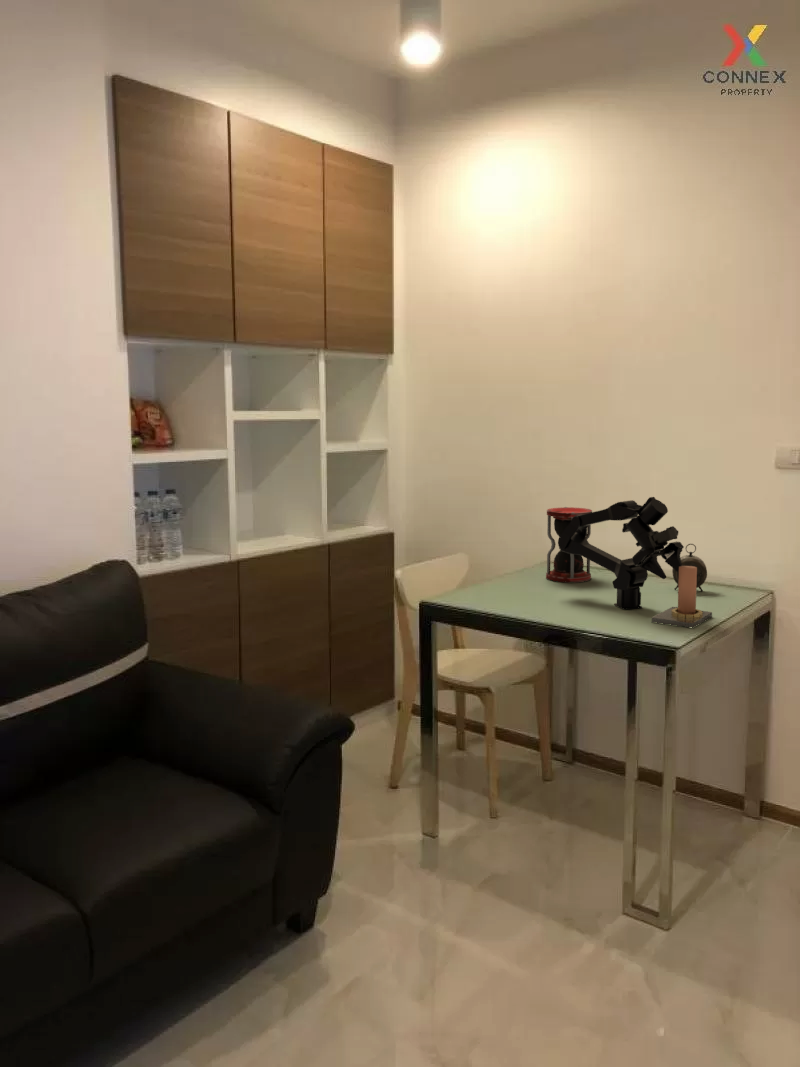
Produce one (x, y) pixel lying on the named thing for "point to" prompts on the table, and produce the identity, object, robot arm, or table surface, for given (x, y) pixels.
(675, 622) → the plate
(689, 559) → the alarm clock
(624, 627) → the table surface
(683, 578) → the orange tapered capsule
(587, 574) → the hourglass
